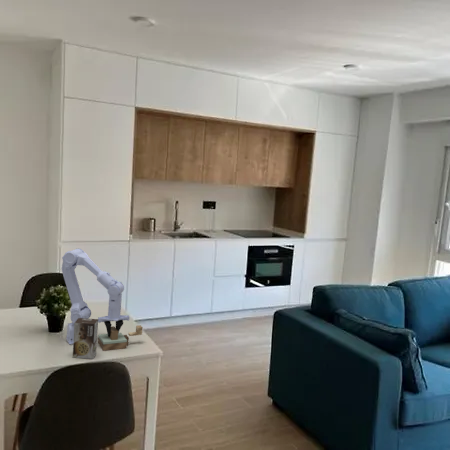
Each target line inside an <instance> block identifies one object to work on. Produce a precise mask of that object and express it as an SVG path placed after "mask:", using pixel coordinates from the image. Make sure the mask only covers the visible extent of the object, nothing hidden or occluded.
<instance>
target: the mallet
mask: <svg viewBox="0 0 450 450" xmlns="http://www.w3.org/2000/svg"><path fill="white" fill-rule="evenodd" d="M127 334H128V335H127V336H128V337H134V336H135V337H136V336H141V335H143V326H142V325H140V324H139V325H136V327H135V331H131V332H128V333H127Z"/></svg>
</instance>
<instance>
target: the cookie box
mask: <svg viewBox="0 0 450 450" xmlns="http://www.w3.org/2000/svg"><path fill="white" fill-rule="evenodd" d="M98 327H99V322H98V318H89V319H87V318H78V319H77V320H76V322H75V323H74V343H73V344H72V345H73V346H72V358H76V359H78V358H79V359H89V360H90V359H91V360H93V359H94V358H95V356H96V355H97V347H98V346H97V345H98V331H99V330H98V329H99V328H98Z"/></svg>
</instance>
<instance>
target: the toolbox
mask: <svg viewBox="0 0 450 450" xmlns="http://www.w3.org/2000/svg"><path fill="white" fill-rule="evenodd" d="M123 336H124V337H125V338H126V339H127V342H122V343H112V344H103V343H102V341H101V340H100V339H99V337H98V336H97V345H99V347H100V349H101V350H102V351H112V350H116V351H117V350H124V349H127V348H128V347H127V346H129V337H130V336H129V335H127V334H123Z"/></svg>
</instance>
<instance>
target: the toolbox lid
mask: <svg viewBox="0 0 450 450" xmlns="http://www.w3.org/2000/svg"><path fill="white" fill-rule="evenodd" d="M98 337H99V339H100V340H101V341H102V343H103V344H112V343H122V342H127V339H126V338H125V337H124V334H123V333H122V332H119V333H118V330H117V329H116V326H112V325H111V331H110V337H108V334H107V333H103V334H102V333H99V334H97V338H98Z"/></svg>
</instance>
